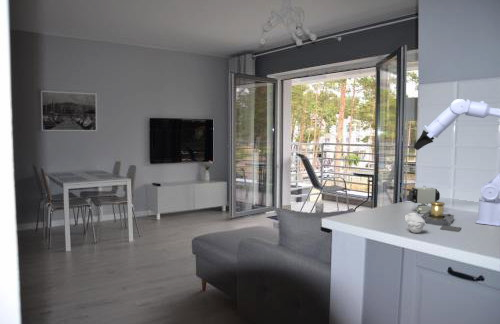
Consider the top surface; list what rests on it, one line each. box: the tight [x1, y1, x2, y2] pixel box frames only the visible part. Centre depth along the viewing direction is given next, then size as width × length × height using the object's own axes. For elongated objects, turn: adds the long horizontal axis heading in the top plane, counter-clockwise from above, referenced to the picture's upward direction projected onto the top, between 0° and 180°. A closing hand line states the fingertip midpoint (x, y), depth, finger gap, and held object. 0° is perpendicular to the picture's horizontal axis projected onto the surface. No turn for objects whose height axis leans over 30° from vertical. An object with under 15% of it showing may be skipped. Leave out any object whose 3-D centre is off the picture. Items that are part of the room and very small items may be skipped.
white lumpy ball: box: [404, 212, 426, 234], centre depth 137 cm, size 6×7×7 cm
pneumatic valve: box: [408, 185, 441, 215], centre depth 171 cm, size 6×12×12 cm, turn 89°
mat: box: [439, 225, 462, 233], centre depth 143 cm, size 6×6×1 cm
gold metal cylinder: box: [430, 200, 446, 218], centre depth 155 cm, size 5×5×8 cm
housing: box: [420, 211, 455, 227], centre depth 155 cm, size 14×10×2 cm
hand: (415, 147), depth 165 cm, fingers open, 7 cm apart
